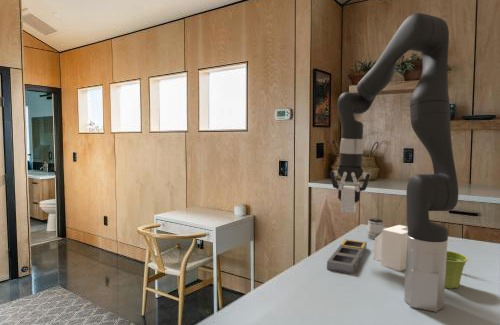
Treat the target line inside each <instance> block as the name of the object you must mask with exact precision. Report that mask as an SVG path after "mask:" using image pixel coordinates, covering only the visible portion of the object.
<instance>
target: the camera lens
mask: <svg viewBox="0 0 500 325" xmlns="http://www.w3.org/2000/svg"><path fill="white" fill-rule="evenodd" d="M384 223H385V222H384V221H383V219H380V218H369V219H368V220H367V237H368V239H370V240H374V239H375V238H376V237H377V236H378V235H380V234H381V233H382V230H383V229H385V228H384Z"/></svg>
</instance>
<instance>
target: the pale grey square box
mask: <svg viewBox="0 0 500 325" xmlns="http://www.w3.org/2000/svg"><path fill="white" fill-rule="evenodd" d="M355 192H356V188H355V187H348V186H347V187H345V186H344V187H343V188H342V189H341V201H340V213H344V214H345V213H347V214H355V213H356V212H357V203H355Z"/></svg>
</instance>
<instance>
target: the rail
mask: <svg viewBox="0 0 500 325" xmlns="http://www.w3.org/2000/svg"><path fill="white" fill-rule="evenodd" d="M367 248H368V247H367V241H361V240H360V241H359V240H352V239H344V240H343V241H342V242H341V244H340V245H339V246H338V248H337V249H336V250H335V251H334V253H332V255H331V257H329V259H328V260H327V261H326V270H329V271H335V272H341V273H346V274H351V275H352V274H354V273H355V270H356V269H357V266H358V264H359V262H360V261H361V259H362V257H363V256H364V254H365V252H366V250H367Z"/></svg>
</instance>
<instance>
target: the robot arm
mask: <svg viewBox="0 0 500 325" xmlns="http://www.w3.org/2000/svg"><path fill="white" fill-rule="evenodd" d="M449 31H450V30H449V26H448V23H447V22H446V21H445V19H442V18H440V17H438V16H434V15H430V14H427V13H422V12H415V13H412V14H411V15H408V17H407V18H406V19H404V21H403V22H402V23H401V25H400V26H399V27H398V29H397V30H396V31H395V33H394V35H393V37H391V40H389V43H388V44H387V46H386V47H385V48H384V50H383V52H382V54H381V55H380V57H378V59H377V61H376V62H375V63H374V65H373V66H372V67H371V68H370V69H369V70H368V71H367V72H366V74H364V76H363V77H362V78H361V79H360V81H359V82H358V83H357V85H356V91H357V92H352V91H351V92H349V91H348V92H347V91H346V92H343V93H341V94H340V95H339V97H338V99H337V106H336V107H337V112H338V116H339V120H340V126H341V130H340V131H341V132H340V137H341V138H340V143H339V145H340V146H339V162H338V164H339V165H338V169H337V170H331V171H330V172H329V175H330V179H331V183H332V188H334V189H337V191H338V192H337V199H338V200H339V201H340V202H341V189H342V188H343V187H345V184H346V182H351V183H353V185H354V188H356V192H355V203H356V204H357V203H358V202H360V199H361V192H362V191H363V192H364V191H366V189H367V187H368V184H369V182H370V179H371V176H372V174H371V173H370V172H366V171H364V170H363V156H364V155H363V154H364V144H363V143H364V142H363V136H364V125H363V124H364V123H362V122H361V121H358V120H357V119H355V115H362V114H364V113H365V112H367V111H369V109H370V108H371V106H372V104H373V103H374V100H375V99H376V97H377V96H378V95H379V94H380V93H381V92H382V91H383V90H384V89H385V88H386V87H387V86H388V85H389V84H390V82H391V80H392V78H393V76H394V72H395V68H396V65H397V62H398V61H399V60H400V58H402V57H403V56H404V55H405V54H406V53H407V52H409V51H415V52H418V53H421V59H422V71H421V72H422V73H421V74H420V78H419V80H418V82H417V84H416V85H415V88H414V89H413V92H412V93H411V96H410V100H409V113H410V124H411V128H412V130H413V132H414V133H415V135H416V136H417V138H418V140H420V143H422V145H423V147H425V150H426V151H427V154H429V157H430V159H431V160H430V161H431V162H432V170H433V174H432V173H431V174H430V173H425V174H423V173H422V174H421V173H420V174H418V173H416V174H413V175H411V176H410V177H409V180H408V182H407V186H406V226H407V228H408V235H407V253H406V269H405V275H404V298H403V299H404V302H406V303H407V304H408V305H409V307H411V308H415V309H421V310H425V311H431V312H435V313H437V312H438V311H439V310H442V309H443V308H444V307H445V306H444V305H445V289H446V287H445V274H446V258H447V251H448V241H449V240H448V239H449V238H448V237H449V231H448V228H447V227H446V226H444V225H442V224H439V223H437V222H434V221H432V220H431V219H430V216H429V212H450V211H452V210H454V209H455V208H456V206H457V204H458V201H459V184H458V183H459V182H458V176H457V172H456V165H455V159H454V158H455V157H454V152H453V144H452V143H453V141H452V130H451V129H452V128H451V127H452V126H451V107H450V98H449V97H450V96H449V95H450V94H449V76H448V75H449V72H448V61H449V60H448V59H449V45H450V44H449V43H450V42H449V41H450V36H449V35H450V34H449ZM338 175H339V176H340V178H341V179H340V183H339V184H338V180H337V176H338ZM361 176H363V179H364V181H363V183H362V186H361V184H360V181H359V179H360V178H361Z"/></svg>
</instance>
